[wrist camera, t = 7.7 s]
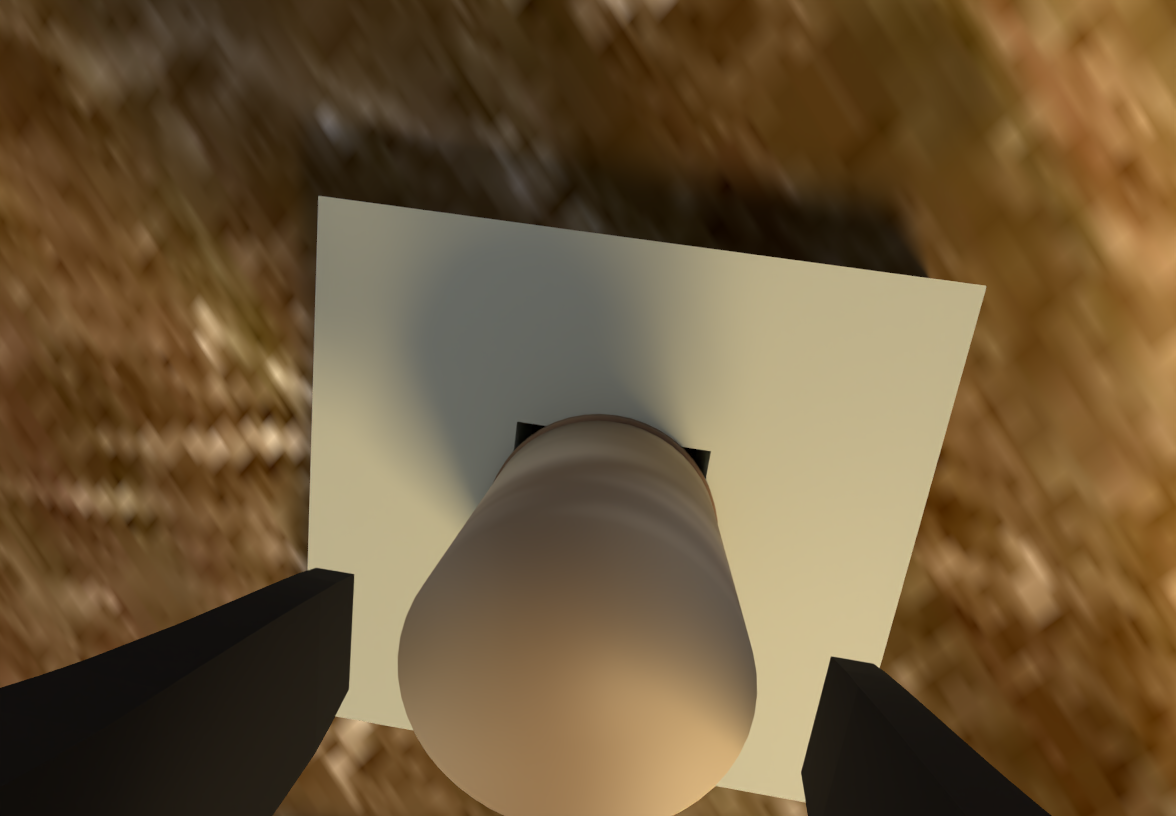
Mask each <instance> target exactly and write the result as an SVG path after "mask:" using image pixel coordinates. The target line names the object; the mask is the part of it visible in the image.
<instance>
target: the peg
mask: <svg viewBox="0 0 1176 816" xmlns="http://www.w3.org/2000/svg"><path fill="white" fill-rule="evenodd" d="M398 680H399V686H400V693H401V698H402V701H403V704H404V708H405V711H406V714H407V717H408V719H409V722H410V724H411V726H412V728H413V730H414V732H415V735H416V736H417V738H418V740H419V741H420V743H421V744H422V746H423V748H424V749H425V751H426V752H427V754H428V755H429V756H430V758H431V759H432V760H433V761H434V763H435V764H436V765H437V766H438V767H439V769H440V770H441V771H442V772H443V773H444V774H445V775H446V776H447V777H448V778H449V779H450V780H451V781H452V782H453V783H454V784H455V785H457V786H458V787H459V788H461V789H462V790H463V791H464V792H466V793H467V794H468V795H470V796H471V797H472V798H474V799H475V800H477V801H479V802H480V803H482V804H483V805H485V806H487V807H488V808H490V809H492V810H494V811H496V812H498V813H500V814H502V815H504V816H673V815H675V814H677V813H679V812H681V811H683V810H684V809H686V808H687V807H689V806H690V805H692V804H694V803H695V802H697V801H698V800H699V799H701V798H702V797H703V796H704V795H705V794H707V793H708V792H709V791H710V790H711V789H712V788H714V787H715V786H716V784H717V783H718V782H719V781H720V780H721V779H722V778H723V777H724V776H725V774H726V773H727V772H728V771H729V769H730V768H731V766H732V765H733V763H734V762H735V760H736V759H737V757H738V756H739V754H740V752H741V750H742V748H743V746H744V744H745V742H746V740H747V738H748V735H749V732H750V728H751V725H752V722H753V718H754V714H755V707H756V699H757V673H756V667H755V661H754V655H753V650H752V647H751V643H750V639H749V636H748V632H747V629H746V625H745V621H744V618H743V614H742V610H741V607H740V603H739V600H738V596H737V592H736V589H735V585H734V581H733V578H732V574H731V571H730V567H729V563H728V560H727V556H726V552H725V549H724V545H723V542H722V538H721V534H720V531H719V527H718V520H717V514H716V508H715V504H714V501H713V497H712V494H711V491H710V488H709V485H708V483H707V481H706V479H705V477H704V475H703V473H702V471H701V470H700V468H699V467H698V465H697V464H696V462H695V461H694V460H693V458H692V457H691V456H690V455H689V454H688V453H687V452H686V450H685V449H684V448H683V447H681V446H680V445H679V444H678V443H677V442H676V441H675V440H673V439H672V438H671V437H669V436H668V435H666V434H665V433H663V432H662V431H660V430H658V429H656V428H654V427H652V426H650V425H648V424H646V423H643V422H640V421H638V420H635V419H632V418H627V417H623V416H618V415H608V414H588V415H580V416H574V417H569V418H566V419H563V420H560V421H557V422H554V423H552V424H550V425H548V426H546V427H544V428H541V429H540V430H538V431H537V432H535V433H534V434H532V435H531V436H529V437H528V438H527V439H526V440H525V441H523V442H522V443H521V444H520V445H519V446H518V447H517V448H516V449H515V450H514V451H513V452H512V454H511V455H510V456H509V457H508V459H507V460H506V461H505V463H504V464H503V466H502V467H501V469H500V470H499V472H498V474H497V475H496V477H495V480H494V482H493V484H492V486H491V487H490V488H489V490H488V491H487V493H486V494H485V496H484V497H483V499H482V500H481V502H480V503H479V504H478V506H477V507H476V509H475V510H474V512H473V513H472V515H471V516H470V517H469V519H468V520H467V522H466V523H465V525H464V526H463V528H462V529H461V531H460V532H459V533H458V535H457V536H456V538H455V539H454V541H453V542H452V544H451V545H450V546H449V548H448V549H447V551H446V552H445V554H444V555H443V557H442V558H441V560H440V561H439V562H438V564H437V565H436V567H435V568H434V570H433V571H432V573H431V574H430V575H429V577H428V578H427V580H426V581H425V583H424V584H423V586H422V587H421V589H420V590H419V592H418V594H417V595H416V597H415V598H414V600H413V602H412V605H411V607H410V609H409V611H408V613H407V616H406V618H405V622H404V625H403V629H402V632H401V636H400V642H399V650H398Z"/></svg>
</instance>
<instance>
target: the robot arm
mask: <svg viewBox="0 0 1176 816" xmlns="http://www.w3.org/2000/svg"><path fill="white" fill-rule="evenodd" d="M353 595H354V574H351V573H345V572H339V571H333V570H327V569H322V568H314V569H311V570H307V571H304V572H302V573H299V574H296V575H294V576H291V577H289V578H286V579H284V580H281V581H279V582H276V583H274V584H272V585H269V586H267V587H264V588H262V589H260V590H257V591H255V592H253V593H250V594H248V595H246V596H243V597H241V598H239V599H236V600H234V601H232V602H229V603H227V604H225V605H222V606H220V607H217V608H215V609H213V610H210V611H208V612H206V613H203V614H201V615H199V616H196V617H194V618H192V619H189V620H187V621H184V622H182V623H180V624H177V625H175V626H172V627H169V628H167V629H164V630H162V631H159V632H156V633H154V634H151V635H149V636H146V637H144V638H141V639H138V640H136V641H133V642H131V643H128V644H125V645H123V646H120V647H118V648H115V649H113V650H110V651H107V652H105V653H102V654H100V655H97V656H94V657H92V658H89V659H86V660H83V661H81V662H78V663H75V664H72V665H69V666H66V667H63V668H61V669H58V670H55V671H52V672H49V673H46V674H43V675H40V676H37V677H34V678H30V679H27V680H24V681H21V682H18V683H15V684H11V685H8V686H5V687H2V688H0V816H272V815H273V814H274V812H275V811H276V809H277V808H278V807H279V805H280V804H281V802H282V801H283V799H284V798H285V796H286V795H287V794H288V792H289V791H290V789H291V788H292V786H293V785H294V783H295V782H296V780H297V779H298V778H299V776H300V775H301V773H302V772H303V770H304V769H305V767H306V766H307V764H308V763H309V761H310V760H311V758H312V757H313V755H314V754H315V752H316V751H317V749H318V747H319V745H320V743H321V742H322V740H323V738H324V736H325V734H326V732H327V731H328V729H329V727H330V725H331V723H332V721H333V719H334V718H335V716H336V714H337V712H338V710H339V708H340V706H341V704H342V702H343V700H344V698H345V696H346V694H347V692H348V690H349V679H350V658H351V637H352V616H353ZM801 776H802V782H803V788H804V794H805V801H806V807H807V813H808V816H1051V815H1050V814H1049V813H1047V812H1046V811H1045V810H1044V809H1042V808H1041V807H1040V806H1039V805H1038V804H1036V803H1035V802H1034V801H1033V800H1032V799H1030V798H1029V797H1028V796H1027V795H1026V794H1025V793H1023V792H1022V791H1021V790H1020V789H1019V788H1017V787H1016V786H1015V785H1014V784H1013V783H1011V782H1010V781H1009V780H1008V779H1007V778H1006V777H1004V776H1003V775H1002V774H1001V773H1000V772H999V771H997V770H996V769H995V768H994V767H993V766H992V765H991V764H989V763H988V762H987V761H986V760H985V759H984V758H983V757H981V756H980V755H979V754H978V753H977V752H976V751H975V750H973V749H972V748H971V747H970V746H969V745H968V744H967V743H965V742H964V741H963V740H962V739H961V738H960V737H959V736H958V735H956V734H955V733H954V732H953V731H952V730H951V729H950V728H949V727H947V726H946V725H945V724H944V723H943V722H942V721H941V720H940V719H938V718H937V717H936V716H935V715H934V714H933V713H932V712H931V711H929V710H928V709H927V708H926V707H925V706H924V705H923V704H922V703H920V702H919V701H918V700H917V699H916V698H915V697H914V696H912V695H911V694H910V693H909V692H908V691H907V690H906V689H904V688H903V687H902V686H901V685H900V684H899V683H897V682H896V681H895V680H894V679H893V678H891V677H890V676H889V675H888V674H887V673H885V672H884V671H883V670H881V669H880V668H879V667H877V666H876V665H875V664H873V663H867V662H861V661H856V660H850V659H844V658H838V657H832V656H831V658H830V662H829V666H828V670H827V674H826V677H825V681H824V685H823V689H822V693H821V697H820V701H819V705H818V708H817V712H816V716H815V720H814V724H813V728H812V732H811V735H810V739H809V743H808V747H807V751H806V755H805V759H804V763H803V766H802V770H801Z"/></svg>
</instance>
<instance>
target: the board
mask: <svg viewBox="0 0 1176 816" xmlns="http://www.w3.org/2000/svg"><path fill="white" fill-rule="evenodd" d="M985 290H986V286H983V285H976V284H968V283H961V282H954V281H946V280H939V279H931V278H924V277H917V276H909V275H902V274H894V273H887V272H880V271H872V270H865V269H857V268H850V267H843V266H835V265H828V264H820V263H813V262H806V261H798V260H791V259H783V258H776V257H769V256H761V255H754V254H746V253H739V252H732V251H724V250H717V249H709V248H702V247H695V246H687V245H680V244H672V243H665V242H658V241H650V240H643V239H635V238H628V237H620V236H613V235H606V234H598V233H591V232H583V231H576V230H569V229H561V228H554V227H546V226H539V225H532V224H524V223H517V222H509V221H502V220H495V219H487V218H480V217H472V216H465V215H458V214H450V213H443V212H435V211H428V210H421V209H413V208H406V207H398V206H391V205H384V204H376V203H369V202H361V201H354V200H347V199H339V198H332V197H324V196H318V224H317V259H316V294H315V329H314V363H313V398H312V433H311V467H310V502H309V537H308V570H311V569H314V568H322V569H327V570H333V571H339V572H345V573H351V574H354V595H353V616H352V637H351V658H350V679H349V690H348V692H347V694H346V696H345V698H344V700H343V702H342V704H341V706H340V708H339V710H338V712H337V714H336V716H337V717H343V718H348V719H353V720H359V721H364V722H370V723H375V724H381V725H386V726H392V727H397V728H403V729H408V730H413V728H412V726H411V724H410V722H409V719H408V717H407V714H406V711H405V708H404V704H403V701H402V698H401V693H400V686H399V680H398V650H399V642H400V636H401V632H402V629H403V625H404V622H405V618H406V616H407V613H408V611H409V609H410V607H411V605H412V602H413V600H414V598H415V597H416V595H417V594H418V592H419V590H420V589H421V587H422V586H423V584H424V583H425V581H426V580H427V578H428V577H429V575H430V574H431V573H432V571H433V570H434V568H435V567H436V565H437V564H438V562H439V561H440V560H441V558H442V557H443V555H444V554H445V552H446V551H447V549H448V548H449V546H450V545H451V544H452V542H453V541H454V539H455V538H456V536H457V535H458V533H459V532H460V531H461V529H462V528H463V526H464V525H465V523H466V522H467V520H468V519H469V517H470V516H471V515H472V513H473V512H474V510H475V509H476V507H477V506H478V504H479V503H480V502H481V500H482V499H483V497H484V496H485V494H486V493H487V491H488V490H489V488H490V487H491V486H492V484H493V482H494V480H495V477H496V475H497V474H498V472H499V470H500V469H501V467H502V466H503V464H504V463H505V461H506V460H507V459H508V457H509V456H510V455H511V454H512V452H513V451H514V450H515V449H516V448H517V447H518V446H519V445H520V444H521V443H522V442H523V441H525V440H526V439H527V438H528V437H529V436H531V435H532V426H533V424H537V425H543V426H548V425H550V424H552V423H554V422H557V421H560V420H563V419H566V418H569V417H574V416H580V415H588V414H608V415H618V416H623V417H627V418H632V419H635V420H638V421H640V422H643V423H646V424H648V425H650V426H652V427H654V428H656V429H658V430H660V431H662V432H663V433H665V434H666V435H668V436H669V437H671V438H672V439H673V440H675V441H676V442H677V443H678V444H679V445H680V446H681V447H687V448H693V449H697V450H696V455H695V462H696V464H697V465H698V467H699V468H700V470H701V471H702V473H703V475H704V477H705V479H706V481H707V483H708V485H709V488H710V491H711V494H712V497H713V501H714V504H715V508H716V514H717V520H718V527H719V531H720V534H721V538H722V542H723V545H724V549H725V552H726V556H727V560H728V563H729V567H730V571H731V574H732V578H733V581H734V585H735V589H736V592H737V596H738V600H739V603H740V607H741V610H742V614H743V618H744V621H745V625H746V629H747V632H748V636H749V639H750V643H751V647H752V650H753V655H754V661H755V667H756V673H757V699H756V707H755V714H754V718H753V722H752V725H751V728H750V732H749V735H748V738H747V740H746V742H745V744H744V746H743V748H742V750H741V752H740V754H739V756H738V757H737V759H736V760H735V762H734V763H733V765H732V766H731V768H730V769H729V771H728V772H727V773H726V774H725V776H724V777H723V778H722V779H721V780H720V781H719V782H718V783H717V784H716V786H719V787H725V788H730V789H736V790H741V791H747V792H752V793H757V794H763V795H768V796H774V797H779V798H785V799H790V800H796V801H801V802H806V801H805V794H804V788H803V782H802V776H801V770H802V766H803V763H804V759H805V755H806V751H807V747H808V743H809V739H810V735H811V732H812V728H813V724H814V720H815V716H816V712H817V708H818V705H819V701H820V697H821V693H822V689H823V685H824V681H825V677H826V674H827V670H828V666H829V662H830V658H831V656H832V657H838V658H844V659H850V660H856V661H861V662H867V663H873V664H875V665H876V666H877V667H879V668H880V665H881V661H882V658H883V654H884V650H885V647H886V643H887V640H888V636H889V633H890V629H891V625H892V622H893V618H894V615H895V611H896V608H897V604H898V600H899V597H900V593H901V590H902V586H903V583H904V579H905V575H906V572H907V568H908V565H909V561H910V558H911V554H912V550H913V547H914V543H915V540H916V536H917V533H918V529H919V525H920V522H921V518H922V515H923V511H924V508H925V504H926V500H927V497H928V493H929V490H930V486H931V483H932V479H933V475H934V472H935V468H936V465H937V461H938V458H939V454H940V451H941V447H942V443H943V440H944V436H945V433H946V429H947V426H948V422H949V418H950V415H951V411H952V408H953V404H954V401H955V397H956V393H957V390H958V386H959V383H960V379H961V376H962V372H963V368H964V365H965V361H966V358H967V354H968V351H969V347H970V343H971V340H972V336H973V333H974V329H975V326H976V322H977V318H978V315H979V311H980V308H981V304H982V301H983V297H984V293H985Z"/></svg>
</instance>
